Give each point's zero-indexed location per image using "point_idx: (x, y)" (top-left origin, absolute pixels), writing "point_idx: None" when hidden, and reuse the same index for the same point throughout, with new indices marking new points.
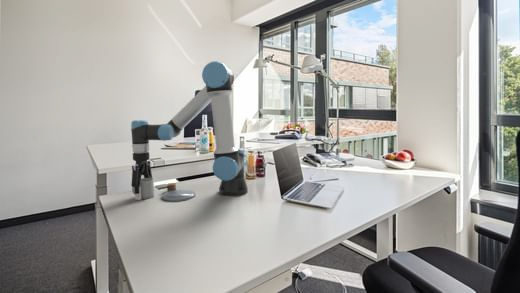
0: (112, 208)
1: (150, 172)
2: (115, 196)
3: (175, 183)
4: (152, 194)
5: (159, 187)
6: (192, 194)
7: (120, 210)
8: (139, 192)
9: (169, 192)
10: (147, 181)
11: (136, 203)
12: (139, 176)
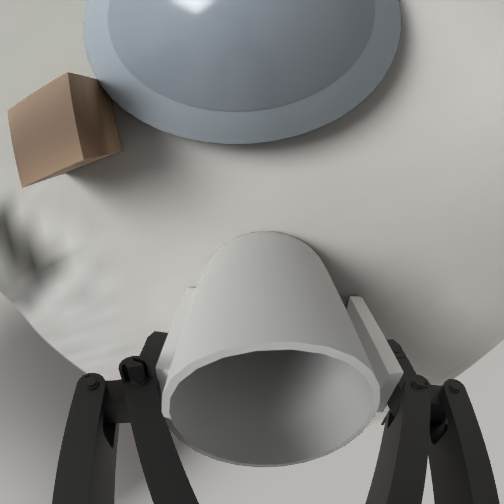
0: (455, 363)
1: (87, 456)
2: None
3: (14, 107)
4: (288, 241)
5: (23, 281)
6: None
7: (493, 314)
8: (381, 341)
9: (188, 91)
10: (372, 369)
11: (417, 292)
12: (423, 475)
